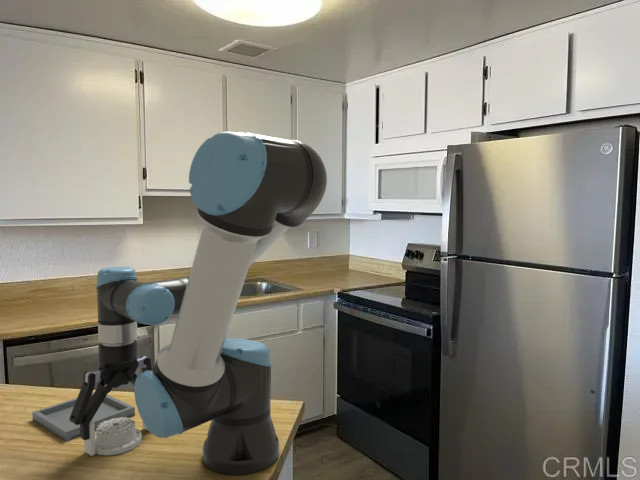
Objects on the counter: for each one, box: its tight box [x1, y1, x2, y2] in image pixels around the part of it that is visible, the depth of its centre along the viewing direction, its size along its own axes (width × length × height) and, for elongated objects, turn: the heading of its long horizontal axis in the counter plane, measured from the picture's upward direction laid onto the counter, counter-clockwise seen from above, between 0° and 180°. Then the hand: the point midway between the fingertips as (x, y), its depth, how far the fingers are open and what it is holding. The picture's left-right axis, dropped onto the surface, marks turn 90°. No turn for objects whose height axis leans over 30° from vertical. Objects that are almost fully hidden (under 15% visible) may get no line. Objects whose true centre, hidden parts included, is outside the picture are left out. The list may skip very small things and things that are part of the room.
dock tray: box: [32, 392, 136, 442], centre depth 113 cm, size 16×16×2 cm
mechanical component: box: [95, 417, 143, 456], centre depth 101 cm, size 10×4×10 cm
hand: (120, 440), depth 102 cm, fingers open, 12 cm apart
